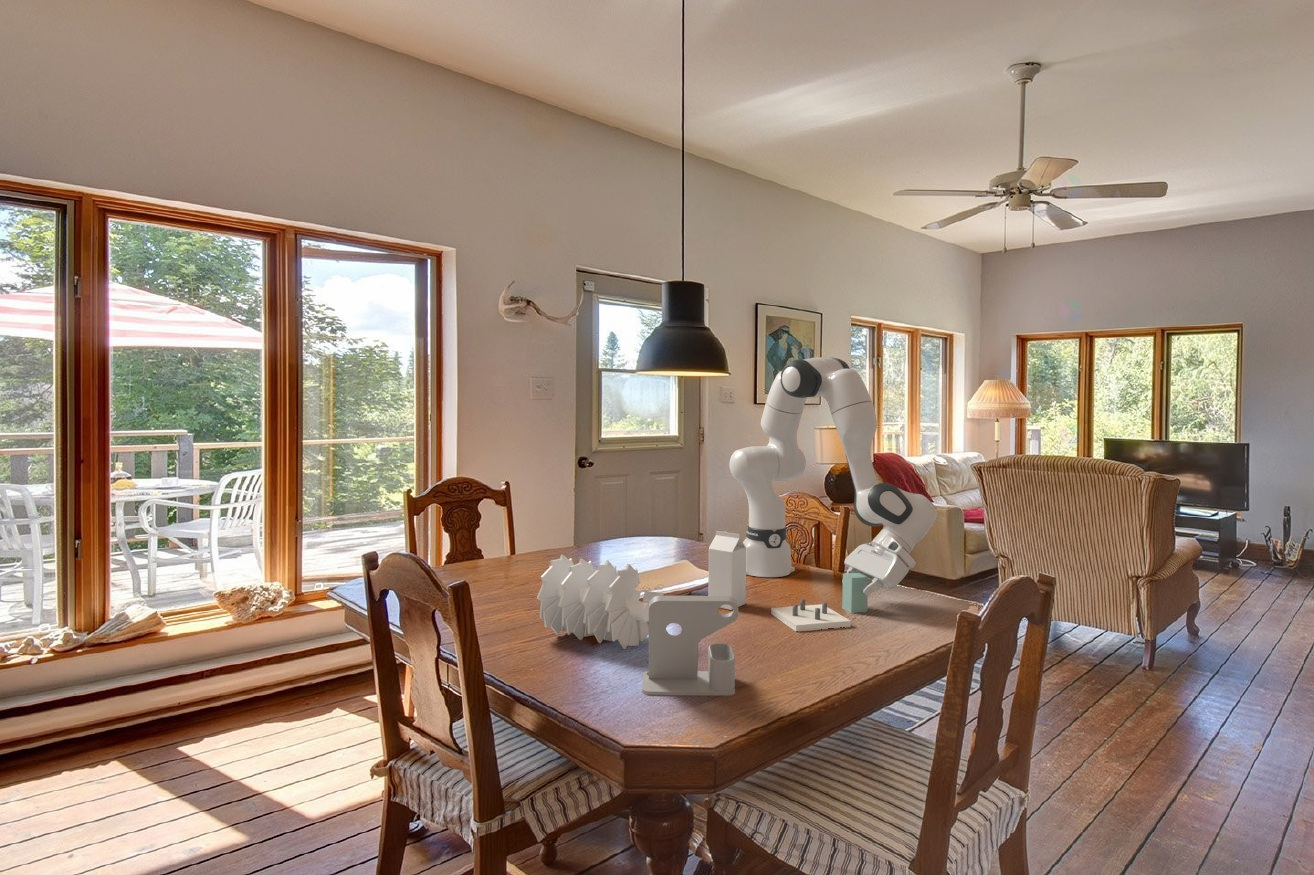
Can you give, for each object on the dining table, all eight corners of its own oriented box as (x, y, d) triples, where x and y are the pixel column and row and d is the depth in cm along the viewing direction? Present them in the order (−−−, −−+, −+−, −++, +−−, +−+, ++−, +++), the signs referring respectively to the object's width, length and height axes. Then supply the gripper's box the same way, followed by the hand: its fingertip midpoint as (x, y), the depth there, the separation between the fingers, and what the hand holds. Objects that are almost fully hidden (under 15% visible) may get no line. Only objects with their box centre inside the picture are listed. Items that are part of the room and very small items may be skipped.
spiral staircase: (633, 673, 152) (540, 646, 165) (672, 618, 166) (582, 597, 178) (617, 606, 144) (519, 583, 157) (658, 553, 157) (565, 536, 170)
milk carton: (731, 610, 184) (732, 536, 183) (707, 605, 188) (708, 533, 187) (745, 604, 189) (746, 532, 188) (722, 599, 194) (723, 529, 193)
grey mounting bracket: (732, 674, 142) (733, 583, 141) (738, 696, 132) (739, 598, 131) (643, 674, 142) (643, 583, 141) (642, 695, 132) (642, 597, 130)
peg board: (771, 614, 181) (771, 598, 181) (822, 610, 185) (822, 594, 184) (795, 631, 168) (796, 614, 167) (850, 627, 171) (850, 610, 171)
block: (842, 608, 186) (842, 573, 186) (857, 607, 187) (858, 572, 187) (851, 613, 182) (851, 577, 181) (867, 612, 183) (868, 576, 183)
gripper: (860, 533, 196) (826, 571, 194) (904, 548, 176) (867, 591, 174) (874, 548, 197) (841, 586, 195) (920, 565, 177) (883, 608, 175)
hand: (854, 588), depth 184 cm, fingers open, 8 cm apart
